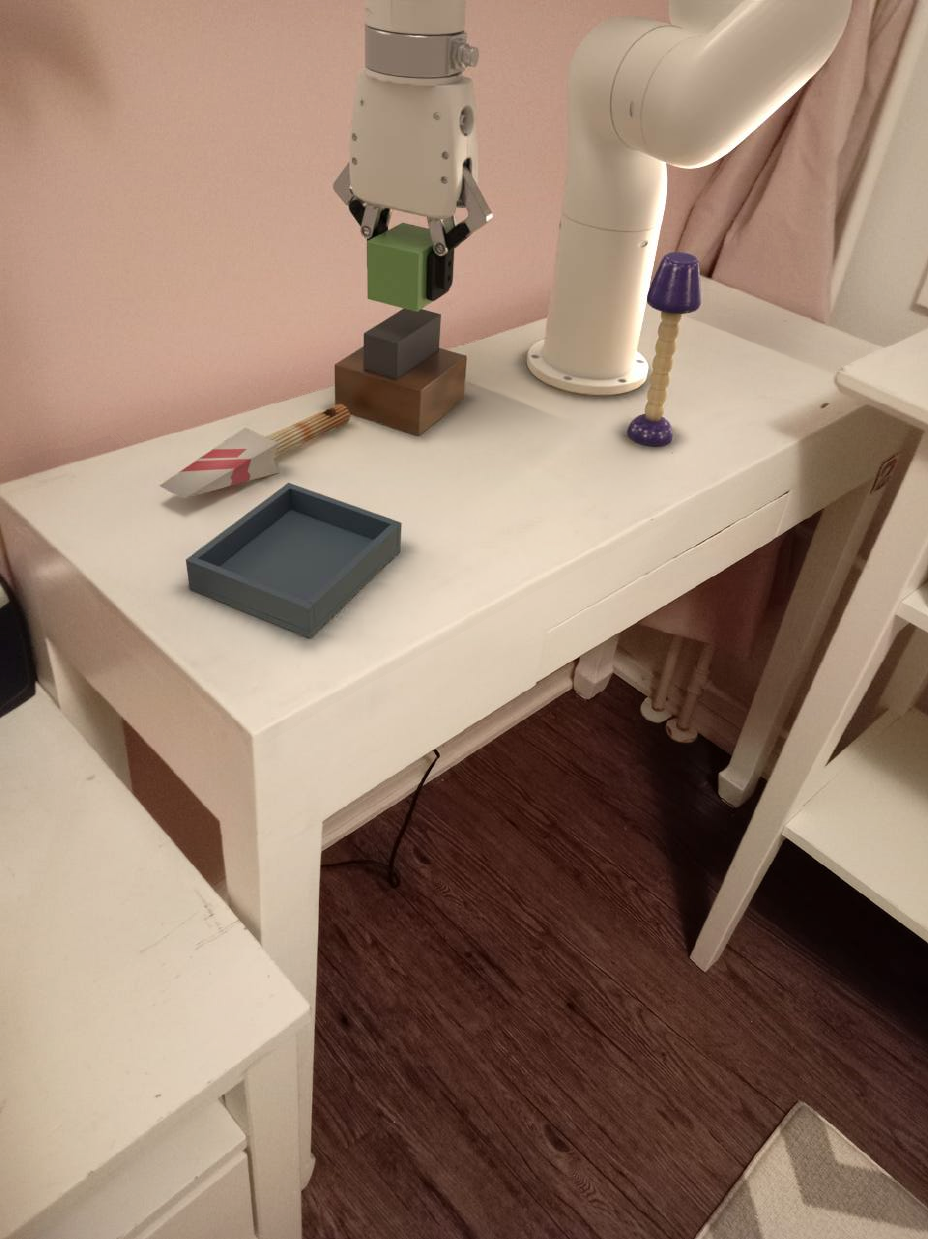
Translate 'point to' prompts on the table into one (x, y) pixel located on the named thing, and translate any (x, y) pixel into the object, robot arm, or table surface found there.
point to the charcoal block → (401, 342)
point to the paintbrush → (250, 455)
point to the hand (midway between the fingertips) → (409, 286)
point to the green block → (399, 266)
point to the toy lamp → (666, 340)
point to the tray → (295, 558)
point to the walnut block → (402, 391)
